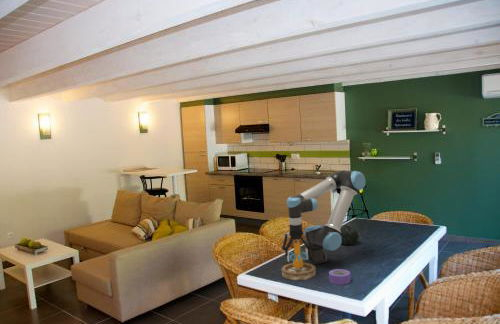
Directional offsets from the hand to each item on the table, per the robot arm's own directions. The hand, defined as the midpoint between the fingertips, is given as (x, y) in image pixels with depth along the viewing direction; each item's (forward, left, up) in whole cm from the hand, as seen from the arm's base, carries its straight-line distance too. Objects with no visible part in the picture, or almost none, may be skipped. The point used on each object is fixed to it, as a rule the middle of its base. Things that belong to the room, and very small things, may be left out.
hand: (297, 260), depth 251 cm
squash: (-49, -52, -9) cm, 72 cm away
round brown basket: (0, 0, -9) cm, 9 cm away
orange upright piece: (0, 0, -4) cm, 4 cm away
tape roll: (-20, +17, -9) cm, 28 cm away
